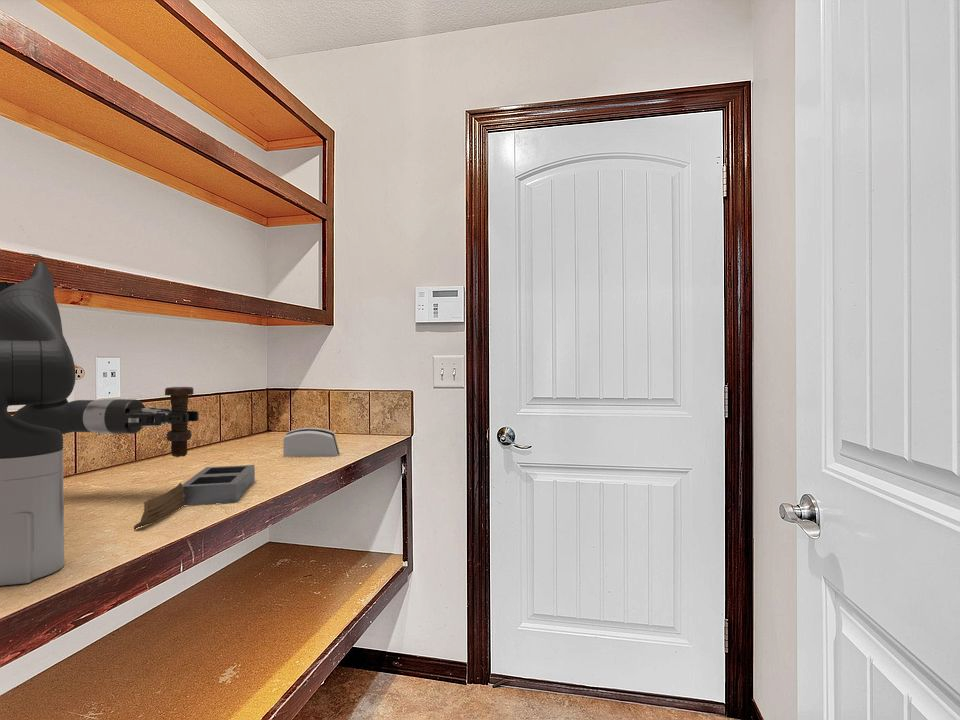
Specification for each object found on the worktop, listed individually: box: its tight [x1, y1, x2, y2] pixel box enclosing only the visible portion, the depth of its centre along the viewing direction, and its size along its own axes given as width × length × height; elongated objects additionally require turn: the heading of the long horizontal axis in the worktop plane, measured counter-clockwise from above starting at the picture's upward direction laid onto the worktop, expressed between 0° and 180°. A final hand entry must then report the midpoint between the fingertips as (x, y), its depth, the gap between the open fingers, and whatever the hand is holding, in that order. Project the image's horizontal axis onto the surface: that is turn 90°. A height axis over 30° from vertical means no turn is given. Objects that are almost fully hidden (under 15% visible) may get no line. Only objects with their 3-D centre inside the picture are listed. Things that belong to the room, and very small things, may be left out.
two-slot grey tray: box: [181, 464, 256, 506], centre depth 120 cm, size 20×11×4 cm, turn 13°
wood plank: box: [133, 482, 185, 531], centre depth 101 cm, size 15×2×5 cm, turn 5°
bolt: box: [164, 386, 194, 458], centre depth 115 cm, size 6×5×15 cm
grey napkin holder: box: [282, 427, 340, 457], centre depth 164 cm, size 17×5×10 cm, turn 93°
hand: (192, 417), depth 115 cm, fingers closed on bolt, 3 cm apart
